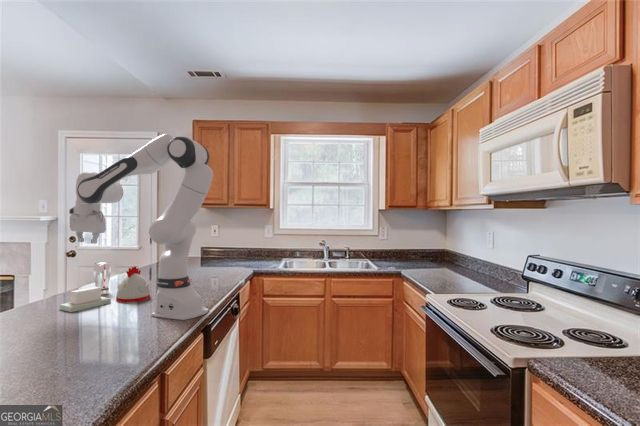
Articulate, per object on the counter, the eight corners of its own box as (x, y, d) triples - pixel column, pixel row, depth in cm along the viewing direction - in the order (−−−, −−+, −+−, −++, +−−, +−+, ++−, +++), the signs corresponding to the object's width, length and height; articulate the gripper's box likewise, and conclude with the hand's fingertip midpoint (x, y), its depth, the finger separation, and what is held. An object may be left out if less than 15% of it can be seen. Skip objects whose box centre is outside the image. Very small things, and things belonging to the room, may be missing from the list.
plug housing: (111, 296, 151) (111, 285, 151) (75, 304, 138) (76, 292, 138) (105, 295, 153) (106, 284, 153) (70, 303, 140) (70, 291, 140)
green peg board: (110, 303, 149) (110, 290, 149) (70, 312, 135) (70, 298, 135) (99, 300, 153) (100, 288, 153) (59, 309, 138) (59, 296, 138)
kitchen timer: (108, 301, 152) (109, 268, 152) (131, 294, 166) (132, 263, 166) (134, 303, 149) (135, 270, 149) (156, 296, 163) (157, 265, 163)
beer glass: (113, 292, 167) (114, 262, 167) (100, 295, 161) (100, 264, 161) (103, 291, 170) (103, 261, 169) (89, 294, 163) (90, 263, 163)
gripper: (110, 211, 142) (109, 243, 142) (82, 210, 151) (81, 240, 151) (94, 210, 136) (94, 244, 136) (66, 209, 145) (65, 241, 145)
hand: (87, 242), depth 144 cm, fingers open, 8 cm apart
